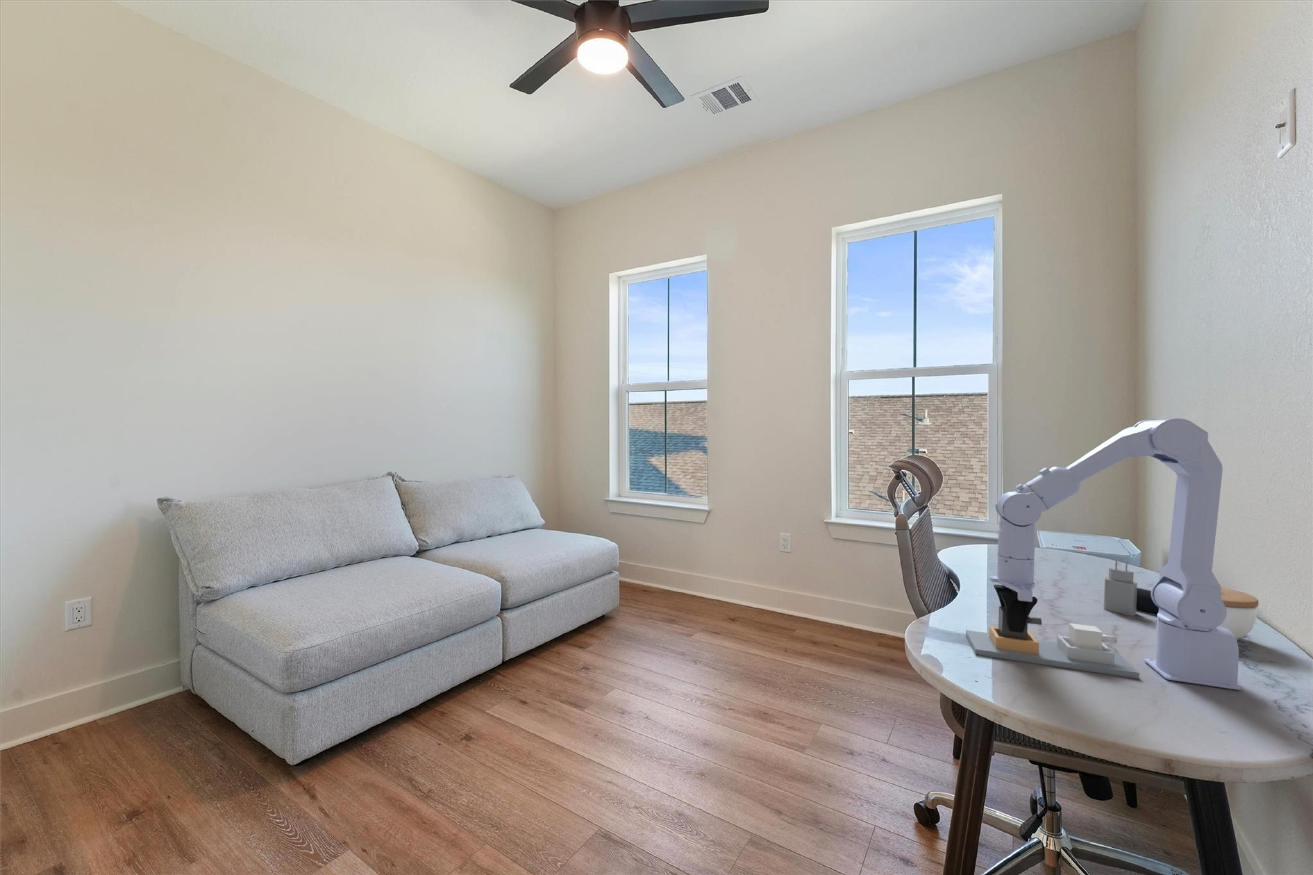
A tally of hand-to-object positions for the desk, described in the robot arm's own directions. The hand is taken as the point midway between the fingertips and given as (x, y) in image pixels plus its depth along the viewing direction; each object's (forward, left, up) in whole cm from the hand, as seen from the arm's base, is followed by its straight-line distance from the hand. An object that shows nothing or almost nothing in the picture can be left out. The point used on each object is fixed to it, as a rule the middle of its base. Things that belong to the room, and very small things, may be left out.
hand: (1013, 627), depth 101 cm
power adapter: (-29, -36, -4) cm, 46 cm away
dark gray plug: (-1, 0, -2) cm, 2 cm away
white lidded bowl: (-40, -25, -4) cm, 47 cm away
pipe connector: (-41, -39, -5) cm, 57 cm away
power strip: (-5, 0, -4) cm, 7 cm away
